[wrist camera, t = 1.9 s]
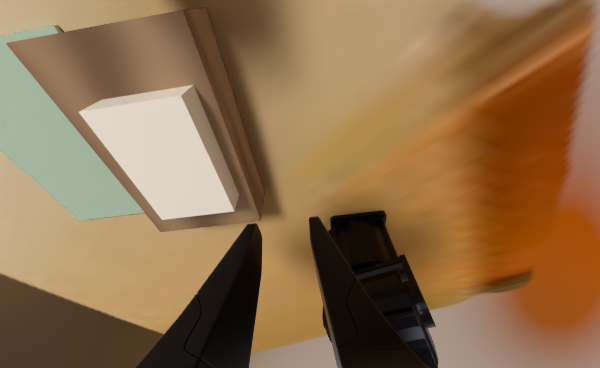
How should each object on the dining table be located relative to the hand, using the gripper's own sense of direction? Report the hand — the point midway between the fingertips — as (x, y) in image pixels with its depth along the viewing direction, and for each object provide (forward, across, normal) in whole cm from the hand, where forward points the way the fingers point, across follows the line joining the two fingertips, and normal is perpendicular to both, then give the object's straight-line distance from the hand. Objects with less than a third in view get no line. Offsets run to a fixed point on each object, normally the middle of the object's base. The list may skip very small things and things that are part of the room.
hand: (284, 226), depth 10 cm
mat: (+12, +20, 0) cm, 23 cm away
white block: (+8, +8, 0) cm, 11 cm away
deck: (+12, +9, 0) cm, 15 cm away
